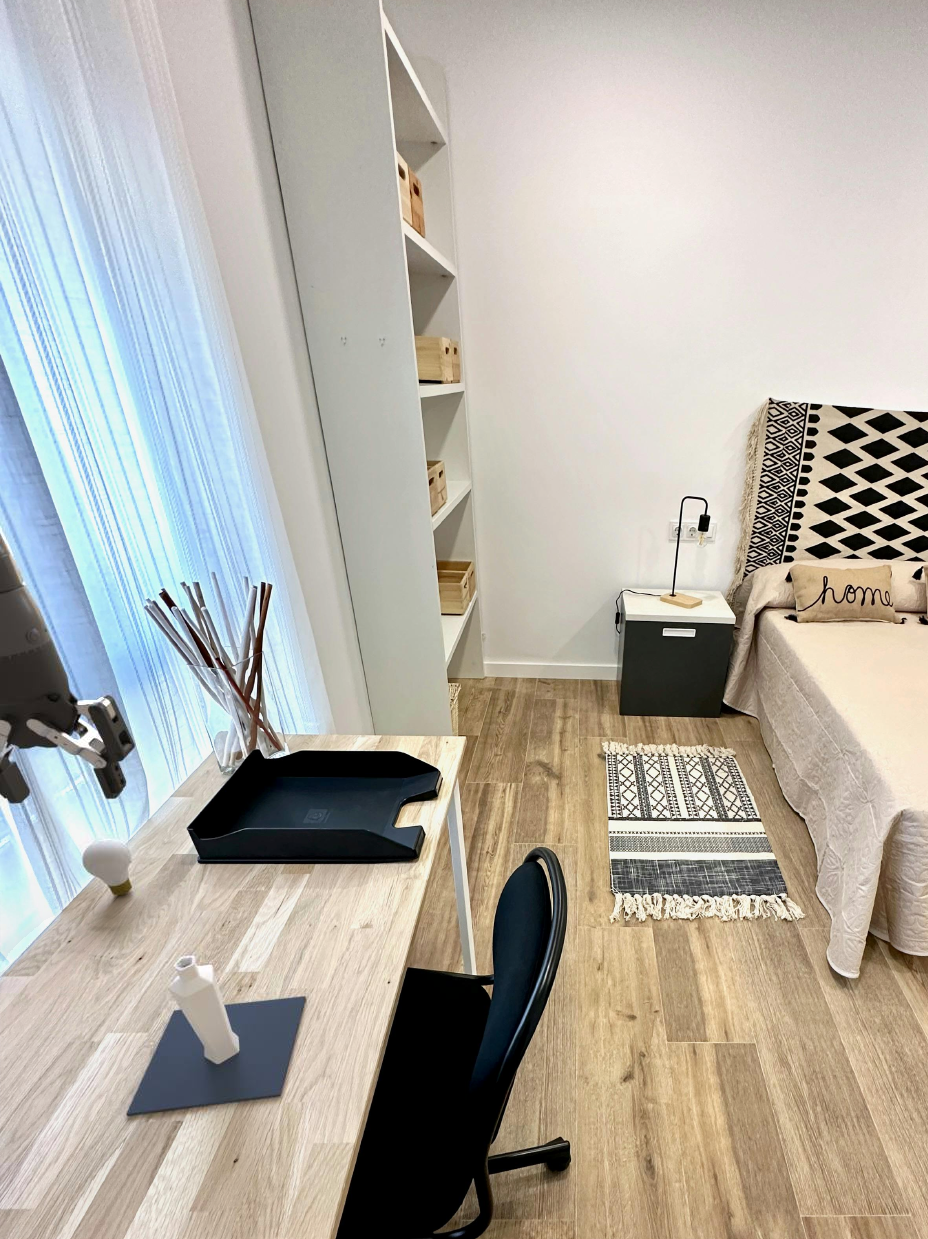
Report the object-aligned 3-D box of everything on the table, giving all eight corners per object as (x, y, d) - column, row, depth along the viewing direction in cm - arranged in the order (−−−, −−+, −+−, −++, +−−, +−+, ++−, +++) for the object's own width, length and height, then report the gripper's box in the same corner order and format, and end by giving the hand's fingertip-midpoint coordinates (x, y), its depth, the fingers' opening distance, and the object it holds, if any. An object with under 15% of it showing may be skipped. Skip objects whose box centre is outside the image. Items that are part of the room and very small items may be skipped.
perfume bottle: (200, 1042, 79) (160, 955, 71) (240, 1028, 81) (205, 942, 73) (201, 1072, 76) (158, 985, 68) (242, 1058, 78) (205, 971, 70)
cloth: (127, 1116, 72) (125, 1114, 72) (174, 1012, 83) (173, 1010, 83) (280, 1096, 74) (279, 1094, 74) (306, 998, 86) (305, 995, 86)
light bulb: (92, 901, 100) (65, 849, 95) (126, 877, 105) (103, 827, 100) (121, 910, 99) (95, 858, 93) (154, 886, 103) (132, 835, 98)
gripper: (106, 625, 61) (161, 774, 69) (-68, 627, 58) (11, 780, 67) (64, 654, 54) (130, 814, 63) (-133, 658, 52) (-37, 822, 61)
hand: (68, 797), depth 65 cm, fingers open, 8 cm apart
